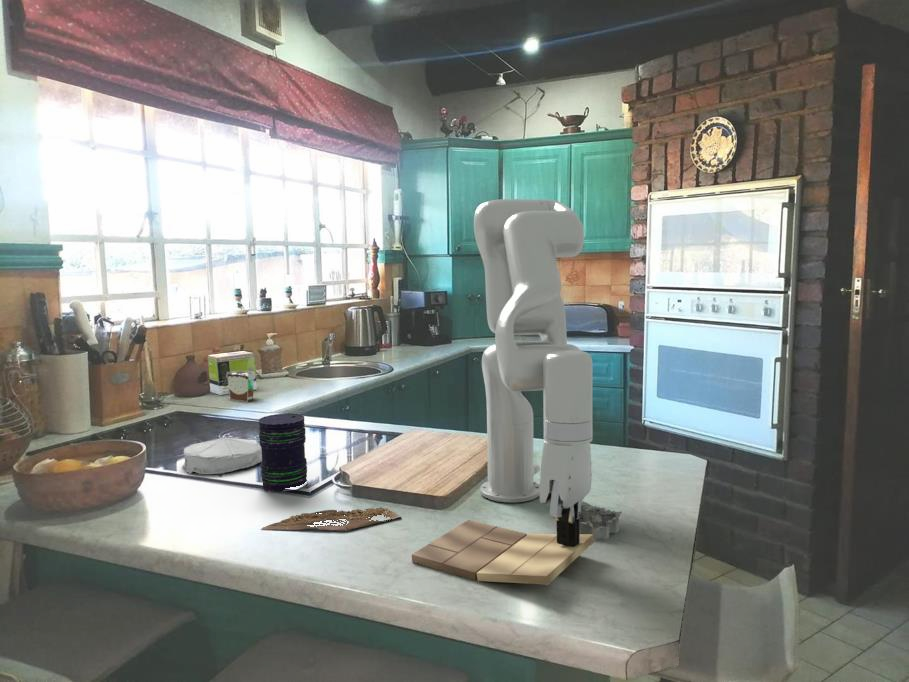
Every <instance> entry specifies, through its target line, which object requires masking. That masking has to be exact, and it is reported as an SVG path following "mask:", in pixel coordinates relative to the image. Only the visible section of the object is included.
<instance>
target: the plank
mask: <svg viewBox="0 0 909 682" xmlns="http://www.w3.org/2000/svg"><path fill="white" fill-rule="evenodd" d="M594 543H595V539H594V538H593V534H580V542H579V544H577V545H576V546H575V547H570V546H566V545H562V544H558V543H557V533H556V534H555V533H554V534H553V533H527V536H525V537H524V538H523V539H521V540H520V541H518V542H517V543H516V544H514V545H513V546H512V547H510V548H509V549H508V550H506V551H505V552H504V553H502V554H501V555H500V556H498V557H497V558H496V559H494V560H493V561H492V562H490V563H489V564H488V565H486V566H485V567H484V568H482V569H481V570H480V571H478V572H477V573H476V574H477V579H476V580H477V582H492V583H493V582H494V583H513V584H514V583H515V584H531V585H534V584H535V585H549V584H551V583H552V582H553V581H554V579H556V578H557V577H559V575H560V574H561V573H563V571H565V569H567V568H568V567H570V565H571V564H572V563H573V562H574V561H576V559H577V558H578V557H579V556H580V555H581V554H583V553H584V552H585V551H586V550H587V549H588V548H589V547H590V546H591V545H592V544H594Z"/></svg>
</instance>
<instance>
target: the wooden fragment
mask: <svg viewBox="0 0 909 682" xmlns="http://www.w3.org/2000/svg"><path fill="white" fill-rule="evenodd" d="M374 508H376V509H374ZM365 510H366V511H365ZM337 511H338V510H337V509H325V510H320V511H315V512H308V513H307V512H306V513H304V512H302V513H301V514H296V515H291V516H290V517H289V518H285V519H282V520H280V521H279V522H274V523H270V524H268V525H266V526H263V527H262V528H261V530H267V531H269V530H271V531H272V530H288V531H289V530H290V531H291V530H292V531H293V530H297V531H298V530H299V531H300V530H321V531H324V530H325V531H342V532H346V533H347V532H348V531H351V530H354V529H357V528H361V527H362V528H363V527H365V526H370V525H375V524H378V523H382V522H388V520H387V521H386V520H385V521H378V520H376V521H374V520H371V518H372V517H373V516H377V515H382V514H383V515H384V517H385V516H386V518H387V517H390V520H389V521H392V520H395V519H398V518H400V517H401V516H400V515H399V514H398V513H396V512H394V511H392V510H390V509H389V508H387V507H383V506H382V507H381V506H380V507H372V508H371V507H370V508H365V509H364V510H363V509H352V510H351V511H350V510H347V511H345V510H339V511H338V512H337ZM385 511H386V512H385ZM316 513H317V514H316ZM319 513H322V514H319ZM386 513H387V514H386ZM344 515H345V516H344ZM368 517H370V518H368ZM366 518H367V519H366ZM339 519H346V520H347V521H349V523H348V524H347V521H346V520H345V521H346V522H344V521H342V520H339ZM391 519H392V520H391ZM326 520H332V522H334V521H336V522H339V523H341V522H344V523H345V524H343V523H341V524H343V526H342V525H341V526H340V525H338V526H335V525H334V526H333V525H331V524H337V523H330V525H327V526H326V525H325V526H317V527H316V526H314V527H310V526H307V525H314V524H313V523H314V522H320V521H322V523H326V522H324V521H326ZM333 520H334V521H333ZM337 520H338V521H337ZM369 520H371V521H369ZM340 521H341V522H340ZM327 523H329V522H327ZM327 523H326V524H327ZM346 524H347V525H346ZM315 525H319V524H315ZM320 525H323V524H320Z"/></svg>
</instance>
